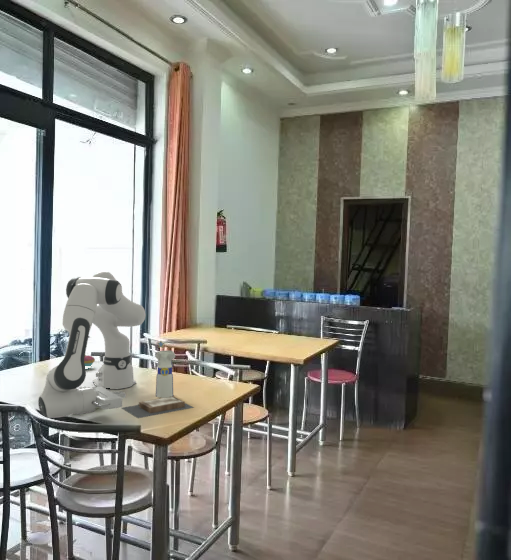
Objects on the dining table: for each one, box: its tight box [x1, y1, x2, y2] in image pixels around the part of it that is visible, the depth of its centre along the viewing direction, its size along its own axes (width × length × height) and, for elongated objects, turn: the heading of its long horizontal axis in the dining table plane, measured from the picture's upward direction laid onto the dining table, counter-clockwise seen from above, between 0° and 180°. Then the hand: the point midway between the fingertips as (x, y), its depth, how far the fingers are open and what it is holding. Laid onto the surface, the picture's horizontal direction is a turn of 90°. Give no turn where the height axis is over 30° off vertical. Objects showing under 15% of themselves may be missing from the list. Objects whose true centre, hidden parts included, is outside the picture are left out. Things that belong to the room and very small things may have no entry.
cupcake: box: [84, 355, 96, 367], centre depth 264 cm, size 9×8×12 cm
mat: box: [121, 403, 195, 419], centre depth 192 cm, size 16×24×1 cm, turn 128°
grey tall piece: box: [155, 340, 176, 399], centre depth 211 cm, size 8×9×25 cm
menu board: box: [138, 395, 185, 413], centre depth 194 cm, size 10×2×15 cm
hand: (124, 394), depth 183 cm, fingers closed
